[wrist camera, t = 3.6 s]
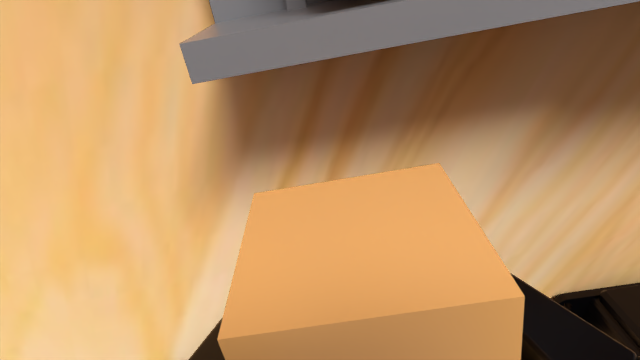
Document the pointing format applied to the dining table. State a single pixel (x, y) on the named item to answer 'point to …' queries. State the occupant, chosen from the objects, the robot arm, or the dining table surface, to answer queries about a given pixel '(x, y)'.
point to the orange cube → (370, 275)
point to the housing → (345, 28)
